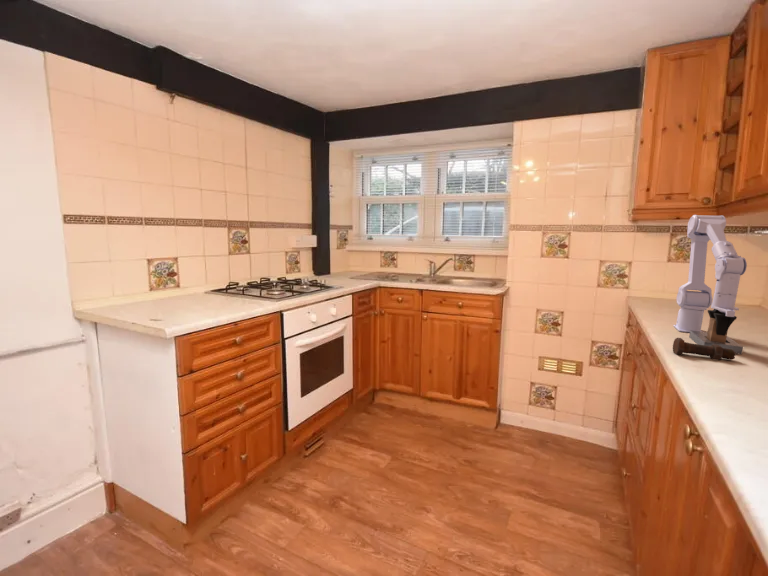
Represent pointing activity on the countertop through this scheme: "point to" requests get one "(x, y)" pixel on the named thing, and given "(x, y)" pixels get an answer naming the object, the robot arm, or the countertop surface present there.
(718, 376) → the countertop surface
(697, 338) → the collar plate
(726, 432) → the countertop surface
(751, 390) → the countertop surface
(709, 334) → the pin
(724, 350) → the bolt
